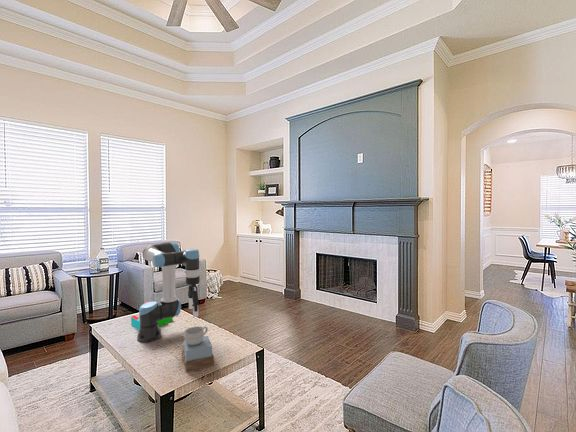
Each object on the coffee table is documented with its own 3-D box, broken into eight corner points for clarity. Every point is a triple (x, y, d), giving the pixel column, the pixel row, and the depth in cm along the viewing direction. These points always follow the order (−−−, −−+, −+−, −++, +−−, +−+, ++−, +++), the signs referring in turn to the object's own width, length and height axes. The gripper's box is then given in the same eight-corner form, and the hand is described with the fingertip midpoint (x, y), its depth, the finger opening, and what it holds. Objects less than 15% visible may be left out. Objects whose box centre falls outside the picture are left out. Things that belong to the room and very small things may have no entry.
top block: (183, 350, 178) (183, 340, 177) (207, 345, 184) (207, 335, 183) (186, 361, 165) (186, 350, 165) (212, 356, 171) (212, 345, 171)
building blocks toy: (174, 321, 236) (173, 298, 236) (141, 331, 218) (140, 306, 217) (163, 315, 249) (162, 293, 249) (131, 324, 231) (130, 301, 230)
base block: (182, 360, 178) (181, 350, 177) (207, 354, 184) (207, 344, 184) (186, 373, 164) (186, 362, 164) (213, 366, 171) (213, 355, 171)
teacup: (188, 349, 166) (187, 335, 166) (181, 342, 175) (181, 328, 174) (212, 342, 174) (211, 328, 174) (205, 336, 183) (204, 323, 183)
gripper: (182, 272, 183) (183, 306, 184) (189, 282, 161) (190, 321, 162) (195, 271, 186) (196, 304, 187) (203, 280, 164) (204, 318, 165)
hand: (193, 312), depth 175 cm, fingers open, 13 cm apart
